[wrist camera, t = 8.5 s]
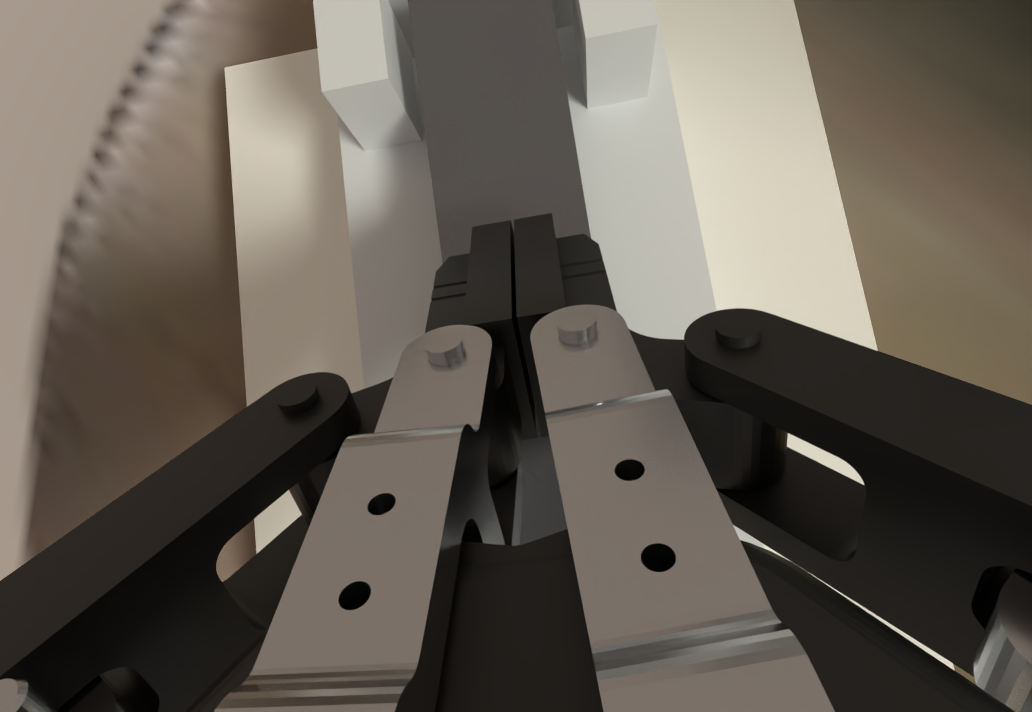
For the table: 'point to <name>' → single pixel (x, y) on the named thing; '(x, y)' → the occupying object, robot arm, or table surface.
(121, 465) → the table surface
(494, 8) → the bar
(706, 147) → the stand
